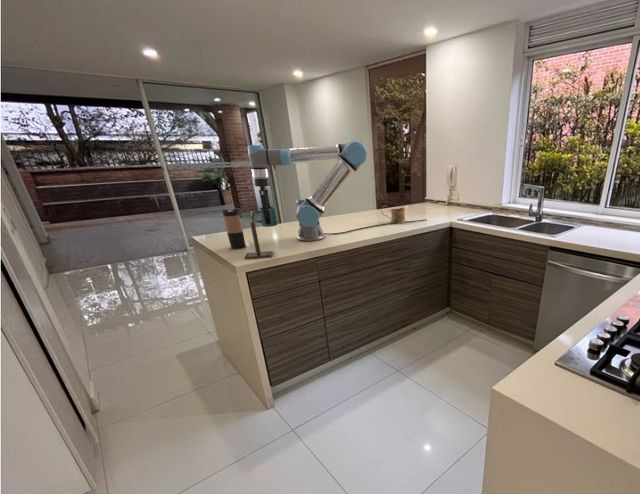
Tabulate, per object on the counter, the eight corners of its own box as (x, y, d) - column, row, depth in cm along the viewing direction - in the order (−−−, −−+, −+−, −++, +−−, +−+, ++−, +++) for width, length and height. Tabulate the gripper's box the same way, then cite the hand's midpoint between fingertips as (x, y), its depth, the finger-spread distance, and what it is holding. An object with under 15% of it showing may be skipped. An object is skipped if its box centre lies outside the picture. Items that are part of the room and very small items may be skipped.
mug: (382, 221, 253) (381, 204, 248) (405, 220, 254) (405, 204, 249) (382, 224, 242) (381, 207, 237) (406, 223, 244) (406, 206, 239)
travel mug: (239, 249, 183) (231, 211, 174) (227, 248, 184) (218, 211, 176) (249, 245, 189) (241, 209, 181) (237, 244, 191) (228, 208, 183)
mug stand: (273, 249, 182) (267, 217, 175) (271, 257, 170) (264, 222, 163) (249, 251, 179) (242, 218, 171) (245, 259, 167) (237, 223, 160)
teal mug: (278, 223, 188) (275, 206, 184) (277, 226, 181) (274, 209, 177) (254, 224, 184) (251, 207, 181) (252, 227, 178) (248, 210, 174)
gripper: (255, 176, 181) (263, 219, 191) (250, 179, 163) (259, 226, 173) (270, 176, 183) (277, 218, 193) (267, 179, 165) (275, 225, 175)
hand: (269, 222), depth 183 cm, fingers closed on teal mug, 8 cm apart
